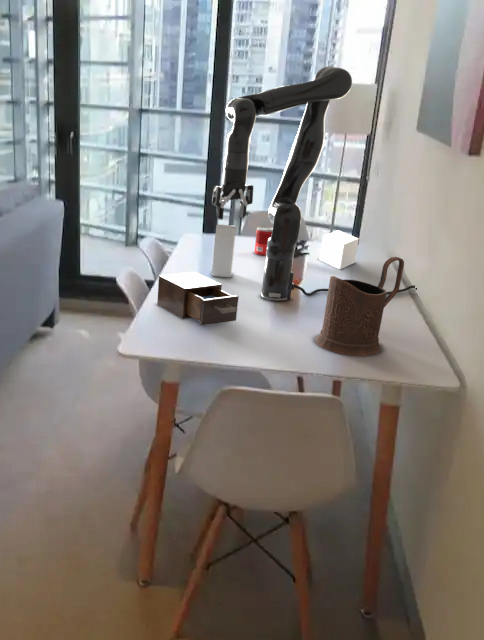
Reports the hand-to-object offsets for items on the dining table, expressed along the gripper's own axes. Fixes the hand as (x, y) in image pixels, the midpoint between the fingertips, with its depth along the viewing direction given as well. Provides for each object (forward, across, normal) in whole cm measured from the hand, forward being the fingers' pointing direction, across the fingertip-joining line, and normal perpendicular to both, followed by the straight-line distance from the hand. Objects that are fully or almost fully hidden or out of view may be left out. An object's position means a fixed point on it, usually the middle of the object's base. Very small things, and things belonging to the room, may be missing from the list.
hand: (230, 218), depth 231 cm
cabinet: (+28, +16, +2) cm, 32 cm away
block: (+26, +15, +14) cm, 33 cm away
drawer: (+27, +15, +15) cm, 35 cm away
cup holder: (+28, -14, +48) cm, 57 cm away
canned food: (+28, -58, -52) cm, 83 cm away
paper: (+28, -80, -31) cm, 91 cm away
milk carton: (+28, -20, -29) cm, 45 cm away
